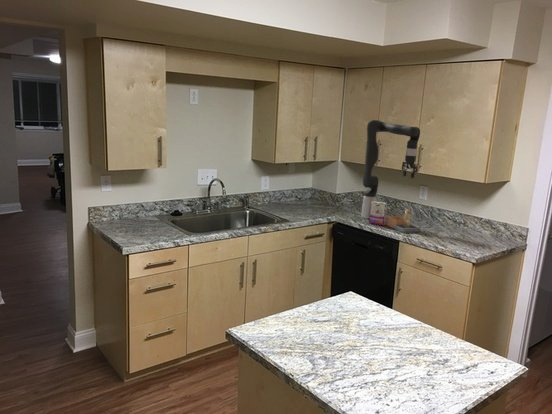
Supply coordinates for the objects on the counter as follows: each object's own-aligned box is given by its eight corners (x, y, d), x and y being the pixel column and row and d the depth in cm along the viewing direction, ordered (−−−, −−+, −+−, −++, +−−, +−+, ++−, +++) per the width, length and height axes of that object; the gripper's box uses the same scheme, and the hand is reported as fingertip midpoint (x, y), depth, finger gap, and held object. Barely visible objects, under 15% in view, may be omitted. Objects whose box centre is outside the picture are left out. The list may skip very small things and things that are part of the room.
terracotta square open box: (386, 225, 336) (387, 216, 334) (397, 224, 340) (398, 216, 338) (395, 228, 327) (396, 219, 325) (406, 228, 331) (407, 219, 329)
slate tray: (393, 229, 325) (393, 225, 325) (409, 228, 331) (409, 224, 330) (403, 233, 316) (403, 228, 315) (419, 232, 321) (419, 227, 320)
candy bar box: (385, 224, 338) (387, 202, 334) (383, 225, 333) (386, 203, 330) (370, 222, 343) (372, 200, 339) (368, 223, 338) (370, 201, 335)
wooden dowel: (402, 228, 324) (404, 209, 321) (406, 228, 326) (408, 209, 323) (405, 230, 320) (408, 210, 318) (410, 229, 322) (412, 210, 319)
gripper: (400, 153, 333) (398, 175, 336) (413, 155, 320) (410, 178, 324) (408, 153, 336) (406, 175, 339) (421, 156, 323) (419, 178, 327)
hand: (408, 177), depth 332 cm, fingers open, 8 cm apart
